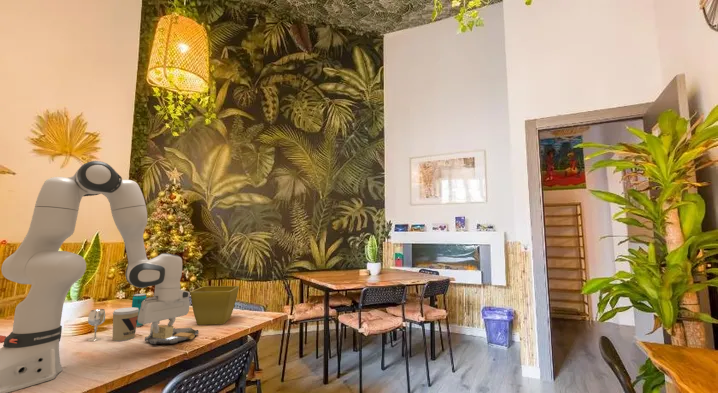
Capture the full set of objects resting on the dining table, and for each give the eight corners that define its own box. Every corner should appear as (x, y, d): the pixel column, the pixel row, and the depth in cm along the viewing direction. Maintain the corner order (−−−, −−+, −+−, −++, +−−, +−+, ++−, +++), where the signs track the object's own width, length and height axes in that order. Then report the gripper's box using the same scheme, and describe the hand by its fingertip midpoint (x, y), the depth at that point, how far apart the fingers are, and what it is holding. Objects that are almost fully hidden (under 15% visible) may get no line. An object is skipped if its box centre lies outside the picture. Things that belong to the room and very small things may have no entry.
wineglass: (104, 339, 139) (107, 310, 141) (87, 342, 135) (90, 312, 137) (101, 336, 143) (104, 308, 145) (84, 339, 139) (87, 310, 140)
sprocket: (200, 339, 138) (201, 324, 139) (144, 347, 127) (145, 331, 128) (195, 327, 155) (196, 314, 156) (145, 333, 144) (146, 319, 145)
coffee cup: (123, 342, 136) (125, 312, 137) (104, 340, 137) (107, 311, 139) (142, 335, 145) (144, 307, 146) (124, 334, 147) (126, 306, 148)
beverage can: (146, 325, 161) (149, 294, 162) (133, 328, 156) (136, 296, 158) (140, 323, 164) (143, 293, 165) (127, 326, 159) (130, 294, 161)
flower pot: (201, 317, 178) (203, 285, 180) (237, 316, 180) (239, 285, 182) (187, 327, 159) (189, 291, 161) (227, 326, 161) (229, 291, 163)
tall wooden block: (164, 338, 125) (165, 327, 126) (152, 337, 127) (153, 326, 127) (172, 336, 128) (173, 325, 129) (160, 335, 130) (161, 324, 131)
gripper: (148, 298, 119) (143, 338, 117) (193, 292, 138) (190, 326, 136) (136, 297, 121) (131, 337, 119) (181, 291, 141) (178, 325, 138)
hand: (163, 331), depth 128 cm, fingers closed on tall wooden block, 3 cm apart
